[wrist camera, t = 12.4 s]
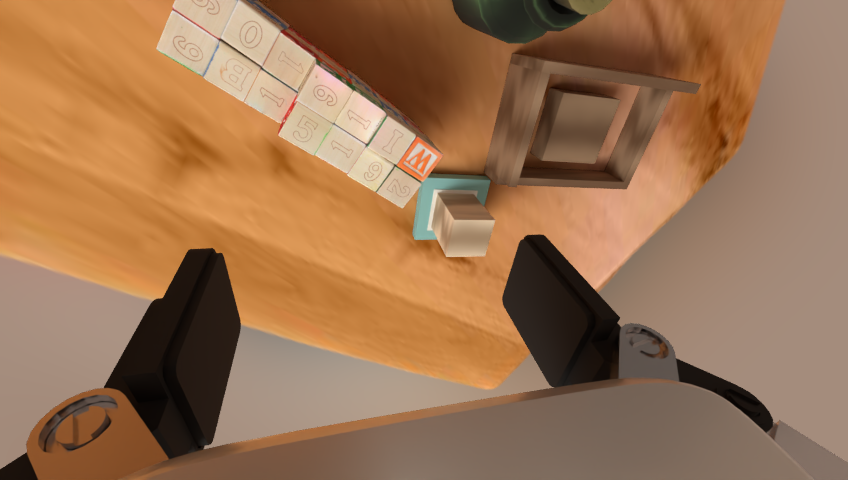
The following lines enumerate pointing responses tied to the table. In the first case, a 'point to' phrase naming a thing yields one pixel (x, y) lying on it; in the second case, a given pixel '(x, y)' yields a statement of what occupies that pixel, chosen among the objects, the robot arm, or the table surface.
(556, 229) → the table surface
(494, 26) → the potion bottle
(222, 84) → the stack of blocks
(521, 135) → the brown wooden tray
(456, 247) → the beech block
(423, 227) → the teal picture frame
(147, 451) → the robot arm
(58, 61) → the table surface
